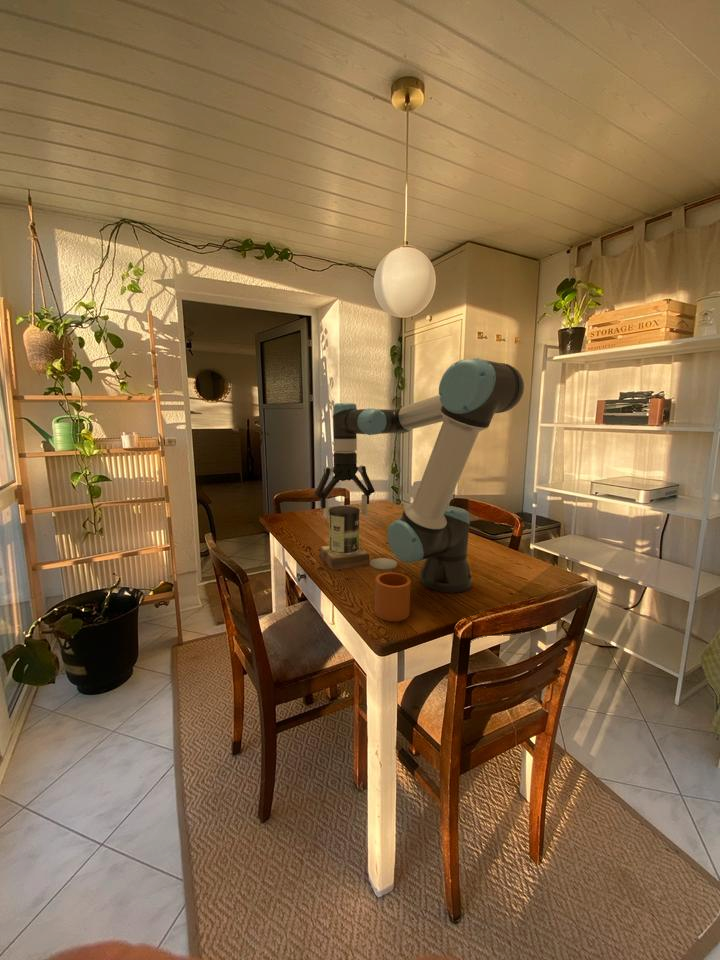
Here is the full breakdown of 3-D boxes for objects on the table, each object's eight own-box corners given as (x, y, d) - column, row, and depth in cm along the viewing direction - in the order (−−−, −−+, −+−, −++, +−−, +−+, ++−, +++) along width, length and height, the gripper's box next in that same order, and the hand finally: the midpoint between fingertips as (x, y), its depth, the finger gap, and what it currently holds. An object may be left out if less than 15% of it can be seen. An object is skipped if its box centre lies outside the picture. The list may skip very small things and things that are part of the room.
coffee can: (359, 545, 139) (360, 506, 137) (358, 555, 129) (359, 513, 127) (330, 544, 139) (330, 505, 137) (327, 555, 129) (327, 513, 127)
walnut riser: (369, 564, 132) (369, 554, 131) (332, 570, 126) (332, 559, 126) (354, 551, 143) (354, 541, 143) (319, 556, 138) (319, 546, 138)
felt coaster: (402, 567, 130) (402, 565, 130) (377, 571, 126) (377, 569, 126) (389, 557, 138) (389, 556, 138) (365, 561, 134) (365, 560, 134)
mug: (394, 596, 109) (396, 565, 108) (415, 618, 98) (418, 584, 97) (364, 601, 106) (365, 569, 105) (382, 624, 95) (384, 589, 94)
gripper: (374, 449, 137) (374, 510, 140) (304, 452, 127) (305, 517, 130) (384, 451, 130) (384, 514, 133) (311, 454, 120) (312, 522, 123)
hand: (345, 516), depth 132 cm, fingers open, 13 cm apart
